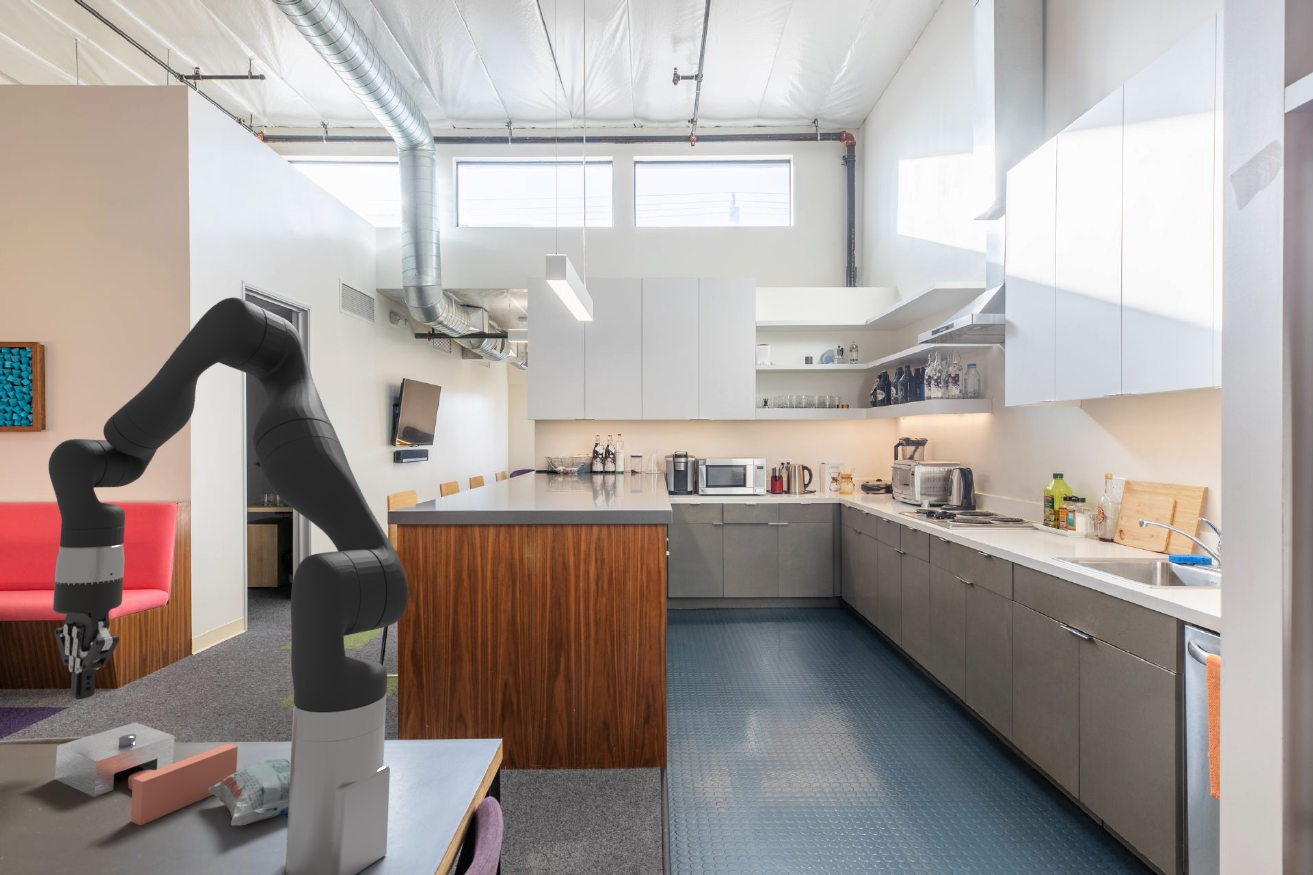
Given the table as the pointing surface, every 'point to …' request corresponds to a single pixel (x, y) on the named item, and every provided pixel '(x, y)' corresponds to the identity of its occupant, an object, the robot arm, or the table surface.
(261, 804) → the packaged food
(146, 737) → the metal block with knob
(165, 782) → the salmon angled bracket
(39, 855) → the table surface
